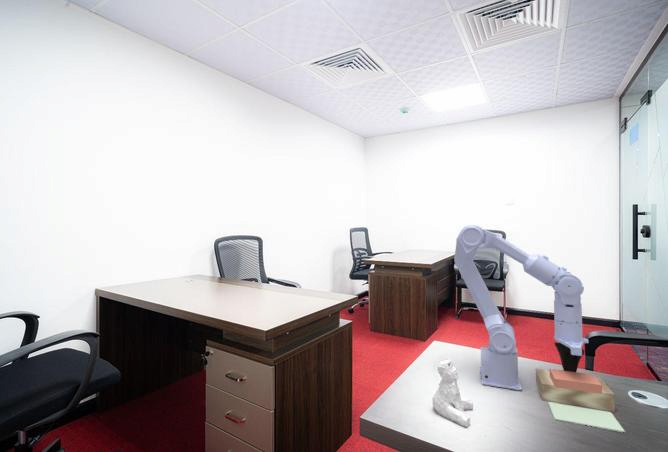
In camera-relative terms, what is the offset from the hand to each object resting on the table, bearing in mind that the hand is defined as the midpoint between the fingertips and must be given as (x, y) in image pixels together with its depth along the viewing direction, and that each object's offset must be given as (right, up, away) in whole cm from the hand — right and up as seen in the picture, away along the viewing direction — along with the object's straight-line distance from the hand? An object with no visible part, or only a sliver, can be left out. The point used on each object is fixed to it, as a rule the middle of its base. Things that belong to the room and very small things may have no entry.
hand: (569, 374), depth 82 cm
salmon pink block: (-2, -1, -4) cm, 4 cm away
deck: (-1, -5, -2) cm, 5 cm away
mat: (-4, -5, -10) cm, 12 cm away
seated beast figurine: (-33, -6, -8) cm, 34 cm away
